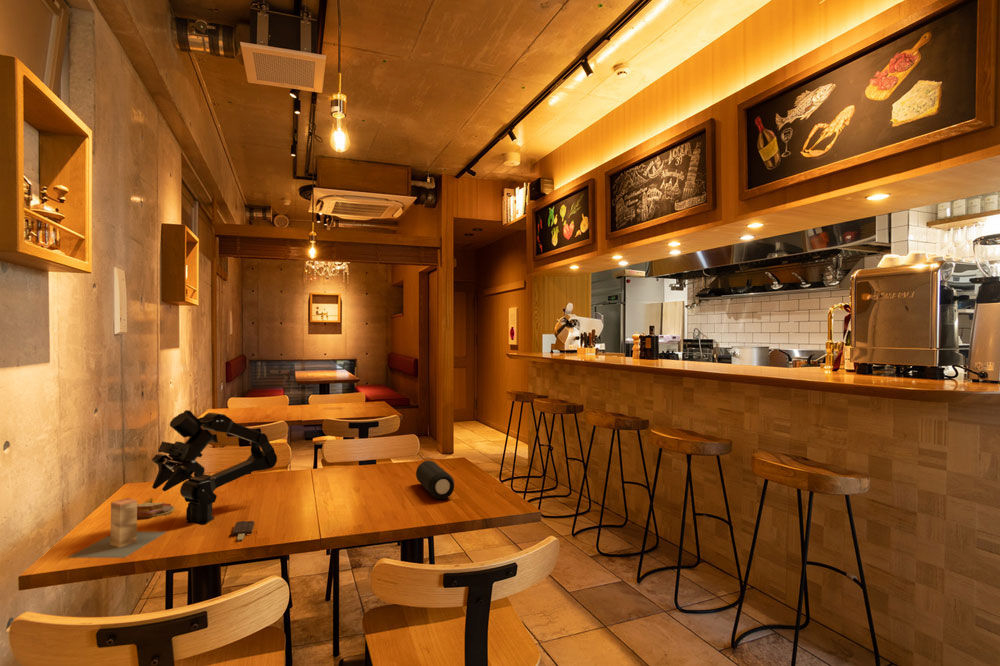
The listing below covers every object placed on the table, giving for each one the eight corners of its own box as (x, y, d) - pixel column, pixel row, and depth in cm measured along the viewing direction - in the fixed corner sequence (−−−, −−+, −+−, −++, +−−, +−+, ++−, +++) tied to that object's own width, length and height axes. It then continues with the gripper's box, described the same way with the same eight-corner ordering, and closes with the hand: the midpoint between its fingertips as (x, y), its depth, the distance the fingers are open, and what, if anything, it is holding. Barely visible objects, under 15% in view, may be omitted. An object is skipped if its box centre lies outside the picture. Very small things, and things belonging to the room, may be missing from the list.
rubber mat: (167, 533, 162) (167, 531, 162) (124, 559, 143) (124, 557, 143) (116, 533, 162) (116, 531, 162) (67, 559, 143) (67, 557, 143)
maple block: (127, 539, 156) (128, 498, 156) (136, 542, 154) (137, 500, 154) (110, 544, 152) (111, 502, 152) (119, 547, 150) (120, 504, 150)
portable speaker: (456, 499, 200) (456, 473, 200) (430, 502, 196) (430, 475, 196) (437, 482, 224) (438, 458, 224) (414, 484, 220) (414, 460, 220)
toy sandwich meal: (183, 510, 185) (183, 496, 185) (149, 523, 172) (149, 508, 172) (153, 507, 188) (154, 493, 188) (117, 519, 175) (118, 505, 175)
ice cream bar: (249, 541, 158) (254, 524, 172) (249, 536, 158) (254, 519, 172) (229, 543, 156) (236, 526, 170) (229, 538, 156) (236, 521, 170)
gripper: (158, 428, 171) (120, 470, 161) (195, 433, 162) (157, 478, 152) (182, 448, 178) (147, 490, 168) (219, 454, 169) (184, 499, 159)
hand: (158, 489), depth 162 cm, fingers open, 5 cm apart
